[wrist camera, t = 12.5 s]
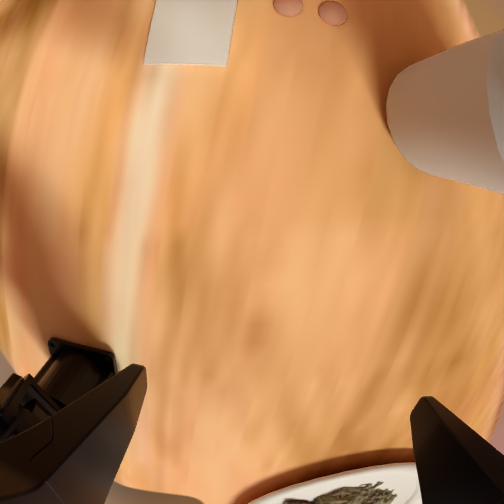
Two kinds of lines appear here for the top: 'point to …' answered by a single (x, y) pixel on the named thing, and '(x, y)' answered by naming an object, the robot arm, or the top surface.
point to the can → (453, 113)
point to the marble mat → (208, 29)
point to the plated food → (354, 487)
